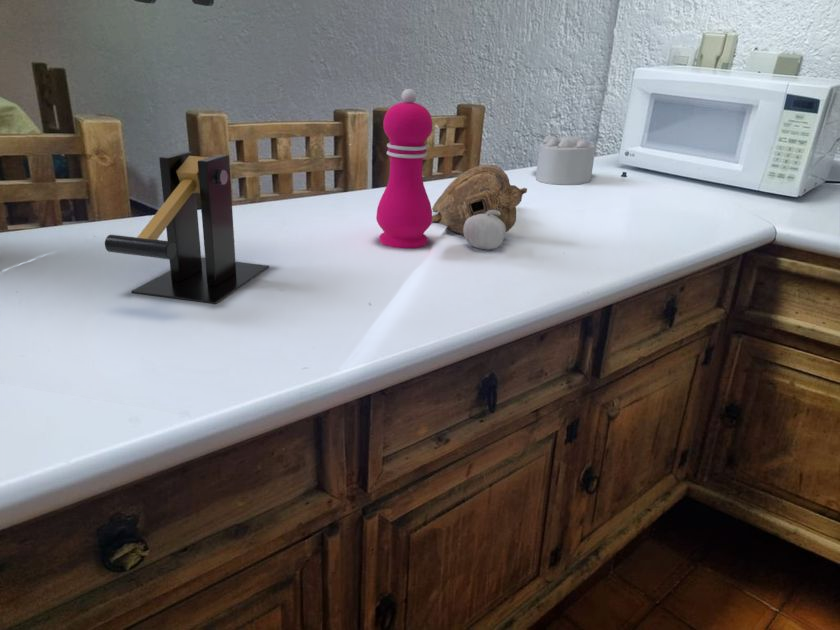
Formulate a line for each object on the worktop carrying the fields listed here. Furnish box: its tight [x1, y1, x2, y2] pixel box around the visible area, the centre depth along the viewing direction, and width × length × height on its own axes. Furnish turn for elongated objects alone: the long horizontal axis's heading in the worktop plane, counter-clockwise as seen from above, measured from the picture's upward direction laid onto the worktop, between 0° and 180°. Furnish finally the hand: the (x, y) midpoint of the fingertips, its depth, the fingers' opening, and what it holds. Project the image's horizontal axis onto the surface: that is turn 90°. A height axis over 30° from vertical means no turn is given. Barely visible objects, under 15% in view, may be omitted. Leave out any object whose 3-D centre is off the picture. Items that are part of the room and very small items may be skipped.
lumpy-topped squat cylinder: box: [535, 135, 596, 186], centre depth 138 cm, size 10×13×9 cm
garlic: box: [463, 210, 507, 251], centre depth 88 cm, size 6×5×5 cm
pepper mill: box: [376, 88, 433, 249], centre depth 82 cm, size 7×7×20 cm
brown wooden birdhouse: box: [431, 164, 528, 236], centre depth 101 cm, size 10×24×15 cm
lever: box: [104, 155, 210, 260], centre depth 61 cm, size 13×6×2 cm, turn 168°
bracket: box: [130, 150, 270, 305], centre depth 67 cm, size 12×9×14 cm
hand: (174, 3), depth 64 cm, fingers open, 8 cm apart
